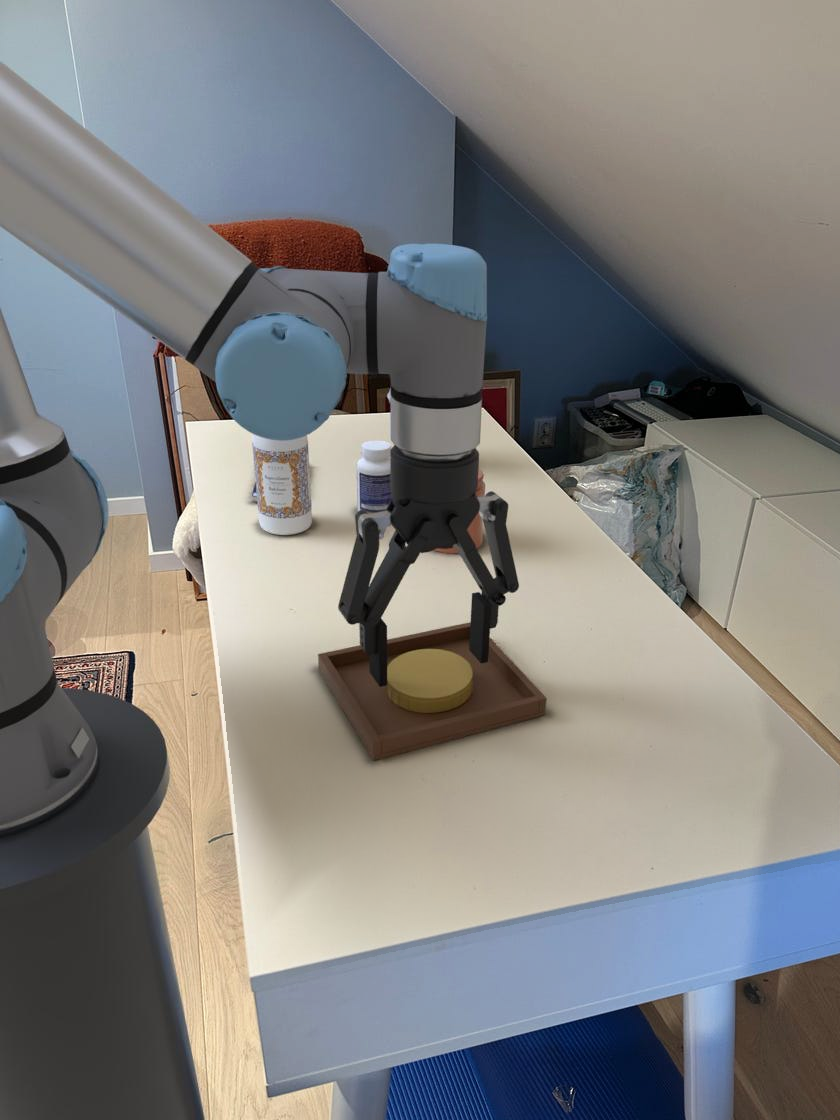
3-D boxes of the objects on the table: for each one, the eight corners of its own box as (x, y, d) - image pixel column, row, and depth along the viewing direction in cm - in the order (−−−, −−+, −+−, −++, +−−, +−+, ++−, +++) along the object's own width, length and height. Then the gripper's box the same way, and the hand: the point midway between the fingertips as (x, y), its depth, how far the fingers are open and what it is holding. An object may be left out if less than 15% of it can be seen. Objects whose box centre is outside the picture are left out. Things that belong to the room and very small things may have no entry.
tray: (373, 760, 79) (373, 743, 78) (318, 670, 90) (317, 653, 89) (545, 715, 86) (547, 698, 85) (473, 636, 98) (474, 621, 97)
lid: (372, 675, 89) (372, 660, 88) (450, 655, 93) (450, 640, 92) (405, 722, 83) (405, 707, 82) (488, 699, 86) (488, 684, 85)
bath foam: (253, 534, 117) (239, 381, 106) (266, 513, 123) (254, 366, 112) (306, 538, 117) (297, 385, 106) (316, 516, 123) (309, 370, 112)
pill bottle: (402, 516, 124) (402, 449, 119) (366, 522, 122) (364, 453, 117) (387, 502, 128) (387, 436, 123) (352, 507, 126) (350, 440, 121)
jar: (436, 557, 114) (438, 487, 109) (412, 532, 120) (413, 465, 115) (492, 548, 117) (496, 479, 112) (466, 524, 123) (469, 458, 118)
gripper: (529, 419, 82) (513, 626, 94) (291, 446, 73) (305, 671, 85) (572, 446, 77) (548, 662, 88) (319, 477, 68) (330, 714, 79)
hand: (429, 667), depth 87 cm, fingers open, 10 cm apart
